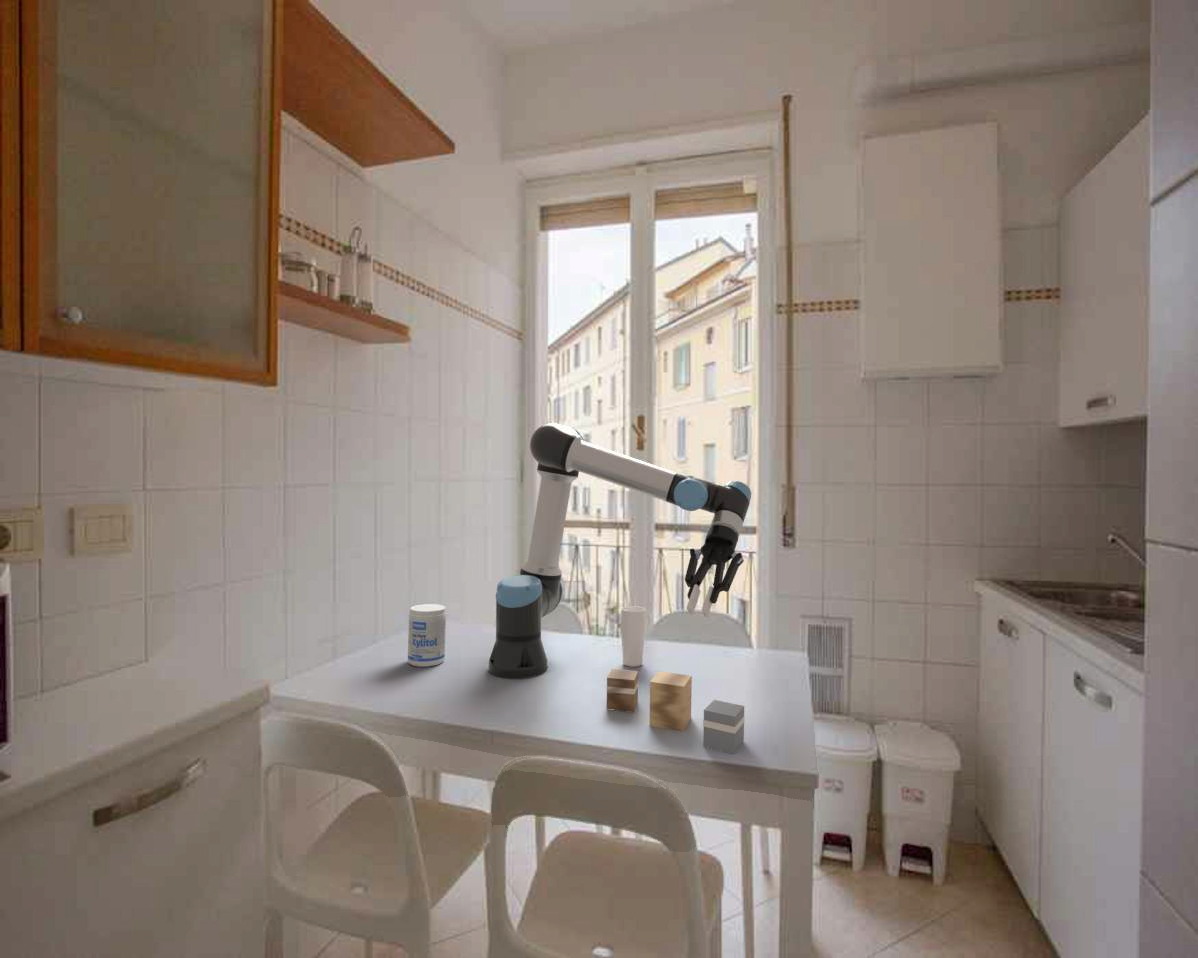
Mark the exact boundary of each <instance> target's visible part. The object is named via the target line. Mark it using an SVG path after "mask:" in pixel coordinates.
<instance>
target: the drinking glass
mask: <svg viewBox="0 0 1198 958" xmlns="http://www.w3.org/2000/svg"><path fill="white" fill-rule="evenodd" d="M646 627H647V611H646V608H645V607H643V606H638V605H627V606H622V607H621V608H620V633H621V648H622V664H623V665H624V666H627V667H633V668H636V667H640V666H641V665H643V657H644V646H645V636H646Z"/></svg>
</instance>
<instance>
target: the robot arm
mask: <svg viewBox="0 0 1198 958" xmlns="http://www.w3.org/2000/svg"><path fill="white" fill-rule="evenodd" d="M529 443H530V444H529V447H530V453H531V455H532V457H533V458H534V460H535V461H536V462H537V469H536V471H537V473H538V474H539V476H540V484H539V490H538V495H537V501H536V507H535V514H534V520H533V525H532V532H531V538H530V544H529V548H528V549H529V550H528V555H527V560H526V562H524V563H523V564H521V566H520V571H519V575H518V574H517V575H513V576H508V577H505V578H502V579H501V580H500V581H498V584H497V585H496V592H495V642H494V645H493V648H492V651H491V654H490V657H489V660H488V672H489V673H490V674H491V675H493V676H497V677H500V678H503V679H504V678H505V679H526V678H532V677H536V676H539V675H542V674H544V673H545V672H547V670H548V658H547V655H546V652H545V648H544V644H543V642H542V619H543V617H545V616H547V615H549V614H551V613H552V612H554V610H556V608H557V607H558V606H559V604H560V603H561V601H562V598H563V592H564V591H563V590H564V589H563V584H562V582H561V580H562V573H563V572H562V570H561V569H560V567H559V558H560V556H561V555H560V554H561V547H562V543H563V542H562V541H563V535H564V530H565V523H566V518H567V514H568V506H569V501H570V500H569V499H570V496H571V489H572V483H573V482H574V481H575V480H576V479H578V478H579V473H581V474H582V473H583V474H585V475H589V476H590V477H591V476H592V477H595V478H597V479H600V480H603V481H606V482H609V483H612V484H614V485H618V486H620V487H623V488H625V489H628V490H631V491H635V492H637V493H641V494H642V495H646V496H649V497H652V498H655V499H658V500H661V501H663V502H667V503H669V504H671V505H673V506H677V507H680V508H681V510H685V511H689V512H694V511H698V510H701V511H706V512H709V513H712V514H713V516H712V517H713V518H712V519H711V523H710V526H709V529H708V531H707V533H706V537H705V539H704V543H703V545H702V546H701V547H700V548H699V549H696V550H695V548H690V549H689V553H690V554H689V555H690V556H689V557H690V558H689V560H688V561H689V562H688V564H687V568H686V573H685V577H684V581H685V584H686V585H687V587H688V588H689V589H688V592H687V599H688V603H687V605H686V610H687V613H688V614H689V616H690V615H691V616H693V615H694V614H695V613H694V612H695V609H696V606H697V604H698V601H699V598H700V594H701V589H700V587H701V585H702V583H703V581H704V579H705V577H706V575H707V574H708V572H709V570H710V569H712V567H713V566H714V565H715V570H714V571H715V572H714V577H713V582H712V585H713V586H712V585H711V586H708V589H707V592H706V596H705V599H704V602H703V604H702V607H701V612H702V614H703V617H705V618H709V615H710V612H711V608H712V605H713V604H716V603H717V601H718V599H719V596H720V593H721V592H725V593H726V592H727V593H728V592H729V591H730V588H731V587H732V585H733V582H734V579H735V578H736V575H737V571H738V570H739V567H740V566H741V565H742V564H743V563H744V562H745V560H744V557H743V555H742V553H741V552H736V551H735V550H736V547H737V544H738V541H739V537H740V534H741V531H742V528H743V525H744V522H745V519H746V516H747V513H748V510H749V507H750V503H751V500H752V491H751V488H750V486H749V485H747V484H746V483H744V482H742V481H739V480H736V481H733V480H730V481H728V482H727V483H726V484H724V486H723V485H721V484H716V483H714V482H710V481H708V480H704V479H701V478H698V477H695V476H693V475H687V474H684V473H677V472H676V471H675V472H674V471H672V470H669V469H666V468H663V467H660V466H657V465H654V464H651V463H648V462H645V461H643V460H639V459H636V458H633V457H631V456H627V455H625V454H621V453H618V452H615V451H612V450H610V449H606V448H603V447H601V446H598V445H595V444H591V443H590V442H586V440H585V437H584V436H583V435H582V434H581V433H580V432H579V431H578V430H577V429H575V428H573V427H570V426H568V425H562V424H558V423H554V422H553V423H552V422H551V423H547V424H542V425H541V426H539V427H538V428H536V430H535V431H534V433H532V436H531V438H530V442H529ZM701 556H702V559H701V563H700V565H699V567H698V563H699V560H700V558H701ZM729 561H730V563H729V565H728V567H727V569H726V563H728V562H729ZM725 569H726V572H725ZM724 572H725V574H724Z"/></svg>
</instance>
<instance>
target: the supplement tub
mask: <svg viewBox="0 0 1198 958" xmlns="http://www.w3.org/2000/svg"><path fill="white" fill-rule="evenodd" d="M446 625H447V610H446V606H445V605H443V604H438V603H437V604H436V603H425V604H424V603H423V604H418V605H417V604H416V605H413V606H411V607H410V608H409V615H408V640H407V662H408V664H409V665H411V666H414V667H417V668H418V667H419V668H425V667H427V668H428V667H433V666H437V665H440V664H442V663H443V662H444V661H445V659H446V658H445V657H446V629H447V628H446V627H447V626H446Z"/></svg>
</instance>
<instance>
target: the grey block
mask: <svg viewBox="0 0 1198 958" xmlns="http://www.w3.org/2000/svg"><path fill="white" fill-rule="evenodd" d="M702 725H703V726H702V727H703V730H702V731H703V736H702V737H703V738H702V739H703V740H702V744H703V746H702V747H704V748H707V747H709V748H708V749H711V748H712V749H711V750H715V749H717V750H716V751H719V750H721V751H720V752H723V753H727V754H730V755H735V754H736V753H737V752H738V750H739V749H740V747H741V746H742V745H743V743H744V739H745V733H744V732H745V705H741V704H737V703H733V702H726V701H722V700H717V699H713V700H712V701H711V702H710V703H709V704H708V705H707V706H706V707H705V708H704V710H703V722H702Z"/></svg>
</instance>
